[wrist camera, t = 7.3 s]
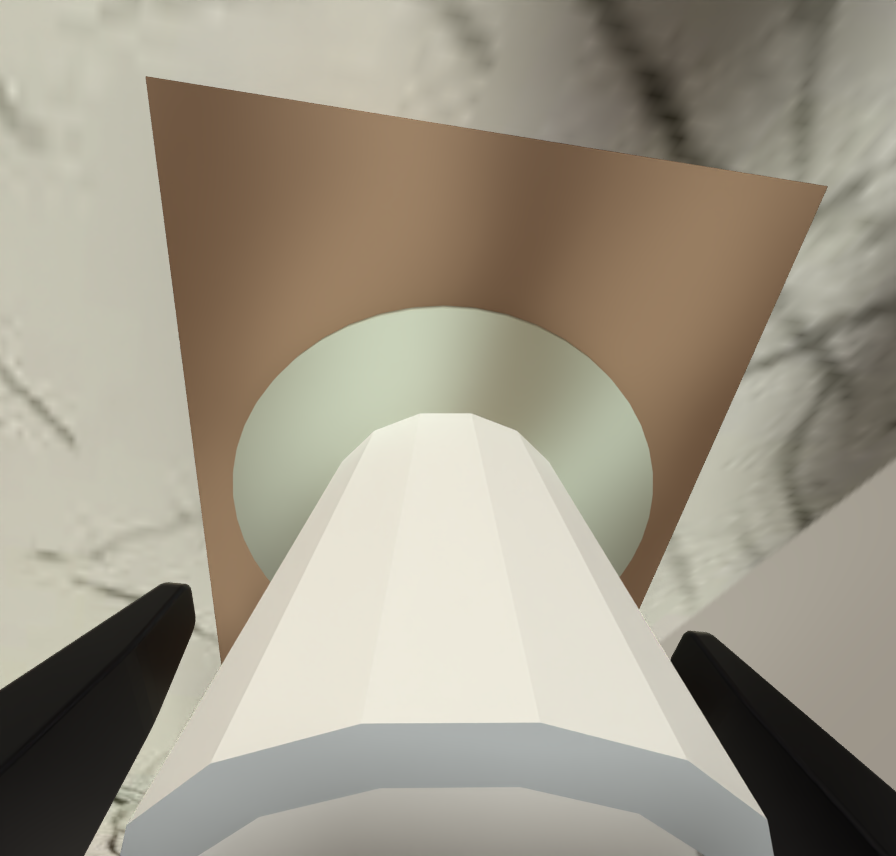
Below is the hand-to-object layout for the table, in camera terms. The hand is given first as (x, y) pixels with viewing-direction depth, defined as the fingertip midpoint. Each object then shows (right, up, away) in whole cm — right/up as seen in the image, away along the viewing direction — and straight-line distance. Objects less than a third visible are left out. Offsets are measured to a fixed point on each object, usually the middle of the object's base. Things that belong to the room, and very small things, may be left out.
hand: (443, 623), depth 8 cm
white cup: (0, +2, +3) cm, 3 cm away
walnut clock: (0, +4, +7) cm, 8 cm away
